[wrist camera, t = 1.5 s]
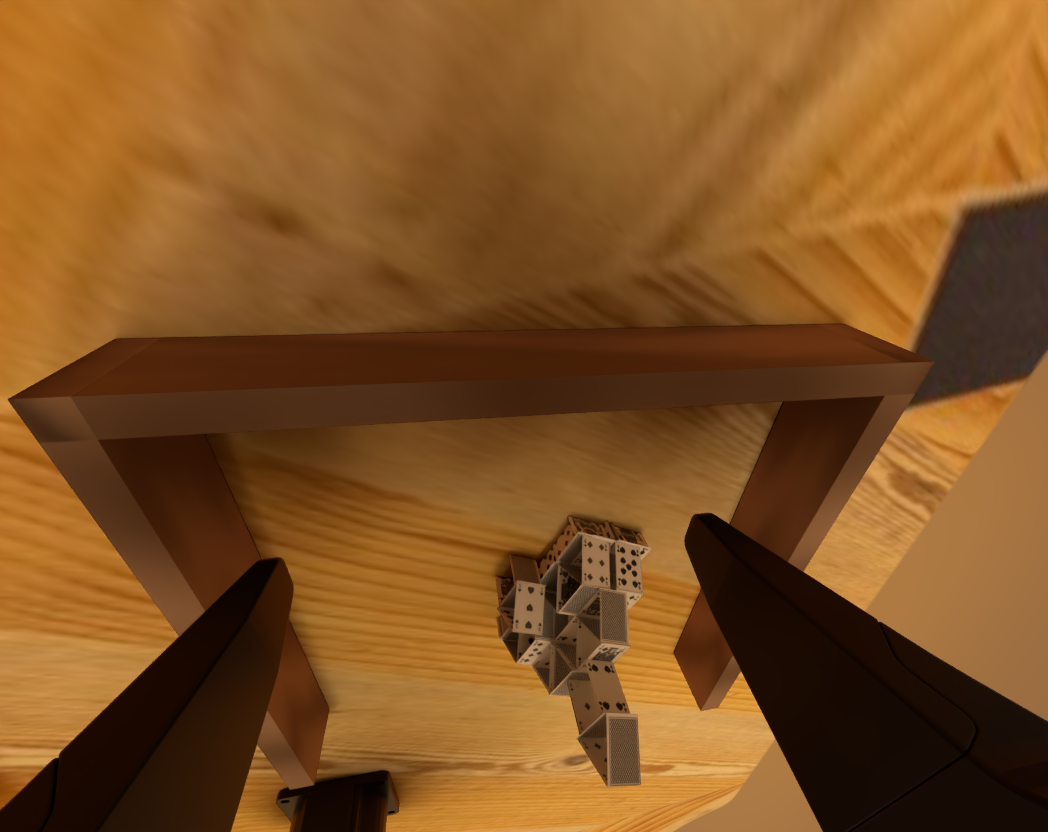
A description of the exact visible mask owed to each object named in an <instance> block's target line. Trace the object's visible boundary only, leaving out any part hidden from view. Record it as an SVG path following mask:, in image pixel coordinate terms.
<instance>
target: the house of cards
mask: <svg viewBox="0 0 1048 832" xmlns="http://www.w3.org/2000/svg"><path fill="white" fill-rule="evenodd" d="M568 519H569V521H570V523H569V525H568V526H567V527H566V529H565V530H564V531H563V533H562V534H561V535H560V537H559V538H558V540H557V541H556V542H555V544H554V545H553V546H552V548H551V549H550V551H549V552H548V553H547V555H546V556H545V557H544V559H543V560H542V561H541V563H540V564H539V565H538V567H537V563H536V560H533V559H529V558H524V557H519V556H514V555H509V556H510V562H511V568H512V574H513V579H509V578H504V577H498V576H495V577H496V584H497V592H498V600H499V607H498V608H497V609H498V610H499V612H500V614H501V615H502V616H501V617H497V623H498V632H499V637H501V638H500V641H504V643H505V645H506V647H507V648H508V650H509V652H510V654H511V655H512V657H513V659H514V661H515V662H516V664H524V665H532V666H533V668H534V670H535V671H536V673H537V674H538V676H539V677H540V679H541V681H542V682H543V684H544V685H545V687H546V689H547V690H548V692H549V696H565V697H571V701H572V705H573V709H574V713H575V718H576V722H577V726H578V730H579V734H580V735H579V736H578V737H577V738H576V739H578V741H579V742H580V744H581V745H582V747H583V749H584V750H585V752H586V753H587V755H588V757H589V758H590V760H591V761H592V763H593V765H594V766H595V768H596V769H597V771H598V773H599V774H600V776H601V777H602V779H603V781H604V782H605V784H606V785H607V786H608V787H611V786H637V785H641V775H640V755H639V735H638V716H637V714H630V711H629V708H628V705H627V702H626V699H625V696H624V694H623V691H622V688H621V685H620V682H619V679H618V676H617V673H616V670H615V667H614V663H615V662H616V661H617V660H618V659H619V658H620V657H621V656H622V655H623V654H624V653H625V652H626V651H627V650H628V649H629V648H630V647H631V646H630V645H629V627H628V610H629V609H630V608H631V607H632V606H633V605H634V604H635V603H636V602H637V601H638V600H639V599H640V598H641V597H642V595H643V587H642V572H641V560H642V559H643V558H644V557H645V556H646V555H647V554H648V553H649V551H650V550H651V549H652V548H650V547H648V545H647V543H646V542H645V540H644V538H643V536H642V534H640V533H637V532H633V531H629V530H625V529H622V528H618V527H614V526H613V523H612V522H611V523H610V524H608V522H607V521H606V522H605V523H604V525H600V524H596V523H592V522H589V521H585V520H581V519H577V518H573V517H570V516H568ZM619 589H620V590H619ZM624 590H625V591H624ZM629 591H630V592H629ZM584 671H586V672H584Z"/></svg>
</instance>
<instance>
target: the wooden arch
mask: <svg viewBox="0 0 1048 832" xmlns="http://www.w3.org/2000/svg"><path fill="white" fill-rule="evenodd" d="M934 362H935V361H932V360H930V359H927V358H925V357H922V356H920V355H918V354H915V353H913V352H910V351H908V350H906V349H903V348H901V347H898V346H896V345H894V344H891V343H889V342H886V341H884V340H882V339H879V338H877V337H874V336H872V335H870V334H867V333H865V332H862V331H860V330H858V329H855V328H853V327H850V326H848V325H846V324H809V325H761V326H713V327H665V328H617V329H569V330H521V331H474V332H426V333H378V334H330V335H282V336H234V337H186V338H138V339H114V340H112V341H110V342H109V343H107V344H105V345H103V346H101V347H100V348H98V349H96V350H94V351H93V352H91V353H89V354H87V355H85V356H84V357H82V358H80V359H78V360H77V361H75V362H73V363H71V364H69V365H68V366H66V367H64V368H62V369H61V370H59V371H57V372H55V373H53V374H52V375H50V376H48V377H46V378H45V379H43V380H41V381H39V382H37V383H36V384H34V385H32V386H30V387H28V388H27V389H25V390H23V391H21V392H20V393H18V394H16V395H14V396H12V397H11V398H9V399H8V401H9V402H10V404H11V405H12V406H13V408H14V409H15V411H16V412H17V413H18V415H19V416H20V417H21V419H22V420H23V422H24V423H25V424H26V426H27V427H28V428H29V430H30V431H31V433H32V434H33V435H34V437H35V438H36V440H37V441H38V442H39V444H40V445H41V446H42V448H43V449H44V451H45V452H46V453H47V455H48V456H49V457H50V459H51V460H52V462H53V463H54V464H55V466H56V467H57V469H58V470H59V471H60V473H61V474H62V475H63V477H64V478H65V480H66V481H67V482H68V484H69V485H70V486H71V488H72V489H73V491H74V492H75V493H76V495H77V496H78V498H79V499H80V500H81V502H82V503H83V504H84V506H85V507H86V509H87V510H88V511H89V513H90V514H91V515H92V517H93V518H94V520H95V521H96V522H97V524H98V525H99V527H100V528H101V529H102V531H103V532H104V533H105V535H106V536H107V538H108V539H109V540H110V542H111V543H112V544H113V546H114V547H115V549H116V550H117V551H118V553H119V554H120V555H121V557H122V558H123V560H124V561H125V562H126V564H127V565H128V567H129V568H130V569H131V571H132V572H133V573H134V575H135V576H136V578H137V579H138V580H139V582H140V583H141V584H142V586H143V587H144V589H145V590H146V591H147V593H148V594H149V596H150V597H151V598H152V600H153V601H154V602H155V604H156V605H157V607H158V608H159V609H160V611H161V612H162V613H163V615H164V616H165V618H166V619H167V620H168V622H169V623H170V625H171V626H172V627H173V629H174V630H175V631H176V633H177V634H178V636H180V635H181V634H182V633H183V632H184V631H185V630H186V629H187V628H188V627H189V626H190V625H191V624H193V623H194V622H195V621H196V620H197V619H198V618H199V617H200V616H201V615H202V614H203V613H204V612H205V611H206V610H207V609H208V608H209V607H210V606H211V605H212V604H213V603H214V602H215V601H216V600H217V599H218V598H219V597H220V596H221V595H222V594H223V593H224V592H225V591H226V590H227V589H228V588H229V587H230V586H232V585H233V584H234V583H235V582H236V581H237V580H238V579H239V578H240V577H241V576H242V575H243V574H244V573H245V572H246V571H247V570H248V569H249V568H250V567H251V566H252V565H253V564H254V563H255V562H257V561H258V560H260V559H261V558H260V556H259V554H258V551H257V549H256V547H255V545H254V543H253V540H252V538H251V536H250V534H249V532H248V529H247V527H246V525H245V523H244V521H243V518H242V516H241V514H240V512H239V510H238V507H237V505H236V503H235V501H234V498H233V496H232V494H231V492H230V490H229V487H228V485H227V483H226V481H225V479H224V476H223V474H222V472H221V470H220V468H219V465H218V463H217V461H216V459H215V457H214V454H213V452H212V450H211V448H210V446H209V443H208V441H207V439H206V437H205V435H204V434H211V433H229V432H247V431H265V430H283V429H300V428H318V427H336V426H354V425H372V424H390V423H407V422H425V421H443V420H461V419H479V418H497V417H514V416H532V415H550V414H568V413H586V412H603V411H621V410H639V409H657V408H675V407H693V406H710V405H728V404H746V403H764V402H782V401H784V403H783V405H782V407H781V409H780V412H779V414H778V416H777V418H776V421H775V423H774V425H773V428H772V430H771V432H770V434H769V437H768V439H767V441H766V444H765V446H764V448H763V450H762V453H761V455H760V457H759V460H758V462H757V464H756V466H755V469H754V471H753V473H752V476H751V478H750V480H749V482H748V485H747V487H746V489H745V492H744V494H743V496H742V498H741V501H740V503H739V505H738V508H737V510H736V512H735V514H734V517H733V519H732V521H731V523H730V525H731V526H733V527H734V528H736V529H738V530H739V531H741V532H742V533H744V534H745V535H747V536H748V537H750V538H751V539H753V540H755V541H756V542H758V543H759V544H761V545H762V546H764V547H765V548H767V549H769V550H770V551H772V552H773V553H775V554H776V555H778V556H779V557H781V558H783V559H784V560H786V561H787V562H789V563H790V564H792V565H793V566H795V567H797V568H798V569H800V570H801V571H804V570H805V568H806V566H807V565H808V563H809V562H810V560H811V558H812V557H813V555H814V554H815V552H816V550H817V549H818V547H819V546H820V544H821V543H822V541H823V539H824V538H825V536H826V535H827V533H828V531H829V530H830V528H831V527H832V525H833V523H834V522H835V520H836V519H837V517H838V515H839V514H840V512H841V511H842V509H843V507H844V506H845V504H846V503H847V501H848V499H849V498H850V496H851V495H852V493H853V491H854V490H855V488H856V487H857V485H858V484H859V482H860V480H861V479H862V477H863V476H864V474H865V472H866V471H867V469H868V468H869V466H870V464H871V463H872V461H873V460H874V458H875V456H876V455H877V453H878V452H879V450H880V448H881V447H882V445H883V444H884V442H885V440H886V439H887V437H888V436H889V434H890V432H891V431H892V429H893V428H894V426H895V425H896V423H897V421H898V420H899V418H900V417H901V415H902V413H903V412H904V410H905V409H906V407H907V405H908V404H909V402H910V401H911V399H912V397H913V396H914V394H915V393H916V391H917V389H918V388H919V386H920V385H921V383H922V381H923V380H924V378H925V377H926V375H927V374H928V372H929V370H930V369H931V367H932V366H933V364H934ZM674 655H675V657H676V660H677V662H678V664H679V666H680V668H681V670H682V672H683V675H684V677H685V679H686V681H687V683H688V685H689V687H690V689H691V692H692V694H693V696H694V698H695V700H696V702H697V704H698V707H699V709H700V711H704V710H709V709H714V708H718V707H719V705H720V704H721V702H722V700H723V699H724V697H725V696H726V694H727V692H728V691H729V689H730V688H731V686H732V684H733V683H734V681H735V680H736V678H737V676H738V675H739V673H740V672H741V670H740V668H739V666H738V664H737V662H736V660H735V658H734V656H733V654H732V652H731V650H730V648H729V646H728V644H727V642H726V640H725V638H724V636H723V634H722V632H721V630H720V628H719V627H718V625H717V623H716V621H715V619H714V617H713V614H712V612H711V610H710V608H709V606H708V603H707V601H706V599H705V596H704V594H703V591H702V590H701V592H700V594H699V597H698V599H697V601H696V603H695V606H694V608H693V610H692V612H691V615H690V617H689V619H688V622H687V624H686V626H685V628H684V631H683V633H682V635H681V638H680V640H679V642H678V644H677V647H676V649H675V651H674ZM328 714H329V708H328V706H327V704H326V701H325V699H324V697H323V695H322V693H321V690H320V688H319V686H318V684H317V682H316V679H315V677H314V675H313V673H312V671H311V668H310V666H309V664H308V662H307V659H306V657H305V655H304V653H303V651H302V648H301V646H300V644H299V642H298V640H297V637H296V635H295V633H294V631H293V629H292V626H291V624H290V622H289V620H288V624H287V630H286V635H285V641H284V646H283V651H282V657H281V662H280V666H279V671H278V675H277V679H276V682H275V686H274V689H273V693H272V696H271V699H270V703H269V706H268V709H267V713H266V716H265V719H264V723H263V726H262V729H261V733H260V736H259V739H258V743H257V745H258V746H259V747H260V749H261V750H262V752H263V753H264V754H265V756H266V757H267V758H268V760H269V761H270V763H271V764H272V765H273V767H274V768H275V770H276V771H277V772H278V774H279V775H280V776H281V778H282V779H283V781H284V782H285V783H286V785H287V786H288V787H289V789H290V790H291V789H297V788H302V787H307V786H312V785H314V784H315V779H316V774H317V769H318V764H319V759H320V754H321V749H322V744H323V739H324V734H325V729H326V724H327V719H328Z"/></svg>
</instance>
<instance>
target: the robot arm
mask: <svg viewBox="0 0 1048 832" xmlns="http://www.w3.org/2000/svg"><path fill="white" fill-rule="evenodd" d="M684 542H685V547H686V550H687V553H688V555H689V558H690V561H691V563H692V566H693V568H694V571H695V573H696V576H697V578H698V581H699V583H700V586H701V589H702V591H703V594H704V596H705V599H706V601H707V603H708V606H709V608H710V610H711V612H712V614H713V617H714V619H715V621H716V623H717V625H718V627H719V628H720V630H721V632H722V634H723V636H724V638H725V640H726V642H727V644H728V646H729V648H730V650H731V652H732V654H733V656H734V658H735V660H736V662H737V664H738V666H739V668H740V670H741V672H742V674H743V676H744V678H745V680H746V682H747V683H748V685H749V687H750V689H751V691H752V693H753V695H754V697H755V699H756V701H757V703H758V705H759V707H760V709H761V711H762V713H763V715H764V717H765V719H766V721H767V723H768V725H769V727H770V729H771V731H772V733H773V735H774V737H775V738H776V740H777V742H778V744H779V746H780V748H781V750H782V752H783V754H784V756H785V758H786V760H787V762H788V764H789V766H790V768H791V770H792V772H793V774H794V776H795V778H796V780H797V782H798V784H799V786H800V788H801V790H802V791H803V793H804V795H805V797H806V799H807V801H808V803H809V805H810V807H811V809H812V811H813V813H814V815H815V817H816V819H817V821H818V823H819V825H820V827H821V829H822V831H823V832H1048V721H1046V720H1044V719H1043V718H1041V717H1039V716H1037V715H1036V714H1034V713H1032V712H1030V711H1029V710H1027V709H1025V708H1023V707H1022V706H1020V705H1018V704H1016V703H1015V702H1013V701H1011V700H1010V699H1008V698H1006V697H1004V696H1002V695H1001V694H999V693H997V692H996V691H994V690H992V689H990V688H989V687H987V686H985V685H983V684H982V683H980V682H978V681H976V680H975V679H973V678H971V677H970V676H968V675H966V674H965V673H963V672H961V671H959V670H958V669H956V668H954V667H953V666H951V665H949V664H948V663H946V662H944V661H942V660H941V659H939V658H938V657H936V656H934V655H933V654H931V653H929V652H928V651H926V650H925V649H923V648H921V647H920V646H918V645H917V644H915V643H913V642H912V641H910V640H909V639H907V638H905V637H904V636H902V635H901V634H899V633H897V632H896V631H894V630H893V629H891V628H890V627H888V626H887V625H885V624H883V623H882V622H878V621H877V619H876V618H874V617H873V616H871V615H869V614H868V613H866V612H865V611H863V610H862V609H860V608H859V607H857V606H855V605H854V604H852V603H851V602H849V601H848V600H846V599H845V598H843V597H842V596H840V595H838V594H837V593H835V592H834V591H832V590H831V589H829V588H828V587H826V586H824V585H823V584H821V583H820V582H818V581H817V580H815V579H814V578H812V577H810V576H809V575H807V574H806V573H804V572H803V571H801V570H800V569H798V568H797V567H795V566H793V565H792V564H790V563H789V562H787V561H786V560H784V559H783V558H781V557H779V556H778V555H776V554H775V553H773V552H772V551H770V550H769V549H767V548H765V547H764V546H762V545H761V544H759V543H758V542H756V541H755V540H753V539H751V538H750V537H748V536H747V535H745V534H744V533H742V532H741V531H739V530H738V529H736V528H734V527H733V526H731V525H730V524H728V523H727V522H725V521H724V520H722V519H720V518H719V517H717V516H716V515H714V514H712V513H701V514H695V515H694V516H693V517H692V518H691V521H690V524H689V527H688V529H687V532H686V535H685V540H684ZM292 598H293V582H292V579H291V577H290V574H289V572H288V569H287V567H286V564H285V562H284V560H283V559H282V558H279V557H277V558H267V559H260V560H258V561H257V562H255V563H254V564H253V565H252V566H251V567H250V568H249V569H248V570H247V571H246V572H245V573H244V574H243V575H242V576H241V577H240V578H239V579H238V580H237V581H236V582H235V583H234V584H233V585H232V586H230V587H229V588H228V589H227V590H226V591H225V592H224V593H223V594H222V595H221V596H220V597H219V598H218V599H217V600H216V601H215V602H214V603H213V604H212V605H211V606H210V607H209V608H208V609H207V610H206V611H205V612H204V613H203V614H202V615H201V616H200V617H199V618H198V619H197V620H196V621H195V622H194V623H193V624H191V625H190V626H189V627H188V628H187V629H186V630H185V631H184V632H183V633H182V634H181V635H180V636H179V637H178V638H177V639H176V640H175V641H174V642H173V643H172V644H171V645H170V646H169V647H168V648H167V649H166V650H165V651H164V652H163V653H162V654H161V655H160V656H159V657H158V658H157V659H156V660H155V661H153V662H152V663H151V664H150V665H149V666H148V667H147V668H146V669H145V670H144V671H143V672H142V673H141V674H140V675H139V676H138V677H137V678H136V679H135V680H134V681H133V682H132V683H131V684H130V685H129V686H128V687H127V688H126V689H125V690H124V691H123V692H122V693H121V694H120V695H119V696H118V697H117V698H115V699H114V700H113V701H112V702H111V703H110V704H109V705H108V706H107V707H106V708H105V709H104V710H103V711H102V712H101V713H100V714H99V715H98V716H97V717H96V718H95V719H94V720H93V721H92V722H91V723H90V724H89V725H88V726H87V727H86V728H85V729H84V730H83V731H82V732H81V733H80V734H79V735H77V736H76V737H75V738H74V739H73V740H72V741H71V742H70V743H69V744H68V745H67V746H66V747H65V748H64V749H63V750H62V751H61V752H60V754H59V758H55V759H53V760H52V761H51V762H50V763H48V764H47V765H46V766H45V767H44V768H43V769H42V770H41V771H40V772H39V773H38V774H37V775H36V776H35V777H34V778H33V779H32V780H31V781H30V782H29V783H28V784H27V785H26V786H25V787H24V788H23V789H22V790H21V791H20V792H19V793H18V794H16V795H15V796H14V797H13V798H12V799H11V800H10V801H9V802H8V803H7V804H6V805H5V806H4V807H3V808H2V809H1V810H0V832H231V829H232V826H233V823H234V819H235V816H236V813H237V809H238V806H239V803H240V799H241V796H242V793H243V789H244V786H245V783H246V779H247V776H248V773H249V769H250V766H251V763H252V759H253V756H254V753H255V749H256V746H257V743H258V739H259V736H260V733H261V729H262V726H263V723H264V719H265V716H266V713H267V709H268V706H269V703H270V699H271V696H272V693H273V689H274V686H275V682H276V679H277V675H278V671H279V666H280V662H281V657H282V651H283V646H284V641H285V635H286V630H287V624H288V619H289V614H290V608H291V603H292ZM276 804H277V805H278V806H279V808H280V809H281V810H282V811H283V812H284V814H285V815H286V816H287V817H288V819H289V820H290V821H291V827H290V831H289V832H386V820H387V816H388V815H393V814H396V813H398V812H399V800H398V798H397V795H396V792H395V789H394V786H393V783H392V780H391V777H390V775H389V773H388V772H377V773H372V774H366V775H361V776H356V777H351V778H345V779H340V780H335V781H330V782H325V783H319V784H314V785H312V786H307V787H302V788H297V789H291V790H290V789H288V790H283V791H281V792H279V793H278V796H277V800H276Z"/></svg>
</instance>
